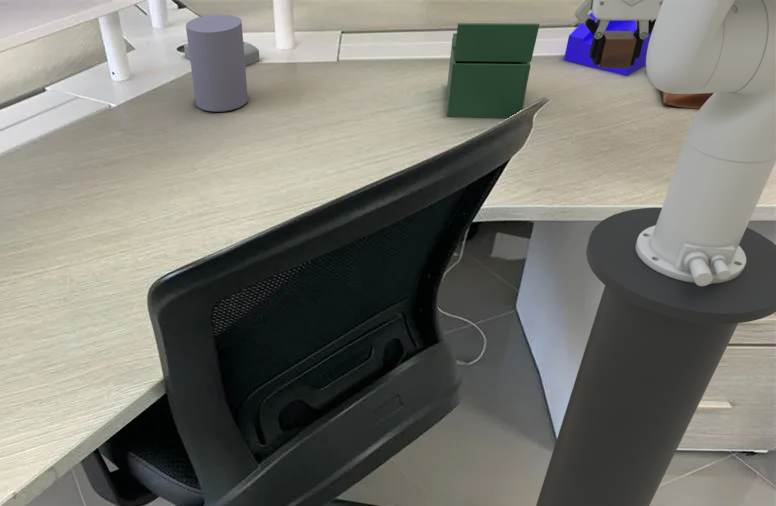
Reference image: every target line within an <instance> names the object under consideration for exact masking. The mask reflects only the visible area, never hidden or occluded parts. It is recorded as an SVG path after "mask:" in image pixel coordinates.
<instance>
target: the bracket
mask: <svg viewBox="0 0 776 506" xmlns="http://www.w3.org/2000/svg"><path fill="white" fill-rule="evenodd" d="M588 15H589V16H590V17H592V18H593V20H594V21H595V22H596V20H597V18H596V17H594V15H593V13H592V12H591V13H589V14H588ZM605 31H631V32H632V33H634V32H635V31H636V20H610V21H609V24H608V26H607V28H606V30H605ZM651 34H652V32H651V33H650V34H649V35H648V37H647V38H645V39H644V41H643V44H642V48H641V52H640V56H639V58H635V62H634V65H630V67H629V68H600V67H599V65H594V63H593V61H592V58H590V57H589V54H590V49H591V44H592V40H593V34H592V33H591V32H590V30H589V29H588V28H587V26H586V25H584V24H583V23H582V22H581V23H580V24H579V25H578V26H576V28H575V29H573V31H572V32H571V33H570V34H569V35H568V39H567V42H566V48H565V53H564V56H563V61H565V62H570V63H574V64H577V65H581V66H585V67H590V68H594V69H599V70H602V71H605V72H610V73H615V74H618V75H622V76H626V77H627V76H629V75H631V74H633V73H634V72H636V71H638V70H640V69H641V68H643V67H644V66H645V67H646V55H647V49H648V45H649V40H650V37H651Z"/></svg>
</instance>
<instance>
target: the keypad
mask: <svg viewBox="0 0 776 506" xmlns="http://www.w3.org/2000/svg"><path fill="white" fill-rule="evenodd" d="M243 45H244V57H245V67H246V66H249V65H251V64H255V63H257V62H260V60H261V59H260V58H261V57H260V50H259V48H258V47H257V46H255V45H253V44H251V43H249V42H246V41H243ZM183 50H184V57H185V58H186V59H189V60H190V54H189V47H188V43H186V44H184V45H183Z"/></svg>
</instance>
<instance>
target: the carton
mask: <svg viewBox="0 0 776 506" xmlns="http://www.w3.org/2000/svg"><path fill="white" fill-rule="evenodd" d="M456 35H457V32H456V33H454V32H453V33H452V37H451V38H452V39H451V47H450V57H449V65H448V76H447V85H446V117H448V118H449V117H450V118H451V117H452V118H484V119H485V118H489V119H493V118H494V119H509V118H508V117H510V116H512V115H514V114H516V113H517V112H519V111H520V110H522V109H524V104H525V100H526V93H527V88H528V87H527V86H528V83H529V82H528V81H529V76H530V71H531V62H491V61H453V59H454V51H455V43H456ZM522 111H523V110H522Z"/></svg>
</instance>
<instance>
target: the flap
mask: <svg viewBox="0 0 776 506" xmlns="http://www.w3.org/2000/svg"><path fill="white" fill-rule="evenodd" d="M456 27H457V28H456V33H457V35H456V43H455V51H454V59H453V61H491V62H530V63H532V60H533V55H534V50H535V47H536V41H537V38H538V33H539V29H540V23H519V22H518V23H512V22H511V23H502V22H501V23H500V22H499V23H495V22H494V23H484V22H483V23H481V22H480V23H479V22H477V23H474V22H469V23H468V22H465V23H463V22H460V23H459V22H458V23H457V26H456Z"/></svg>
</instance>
